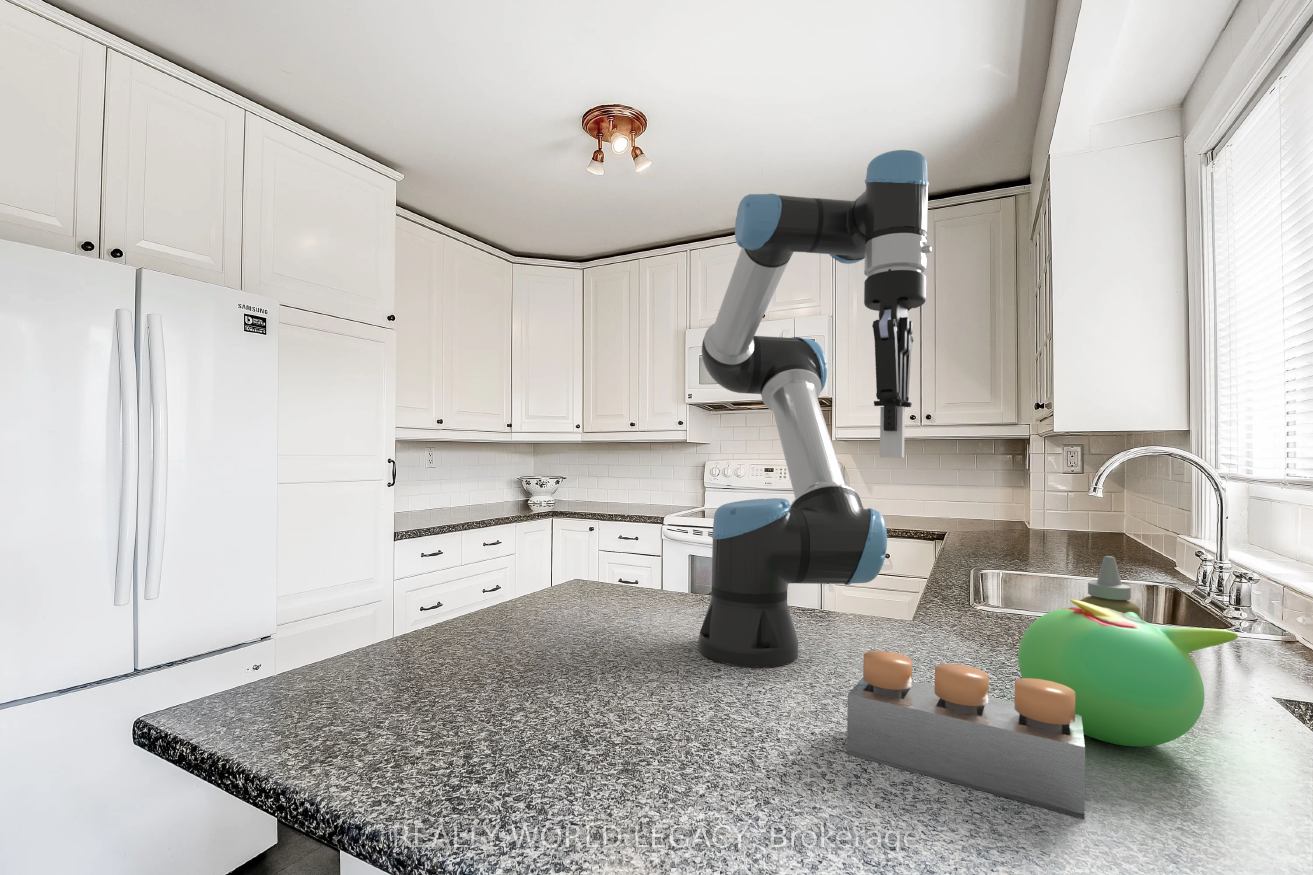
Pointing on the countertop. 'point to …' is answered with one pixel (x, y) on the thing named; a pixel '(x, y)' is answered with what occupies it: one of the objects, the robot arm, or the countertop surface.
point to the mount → (970, 746)
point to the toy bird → (1121, 671)
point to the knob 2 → (1045, 703)
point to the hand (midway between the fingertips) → (891, 457)
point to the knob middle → (961, 687)
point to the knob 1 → (887, 672)
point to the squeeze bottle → (1110, 590)
